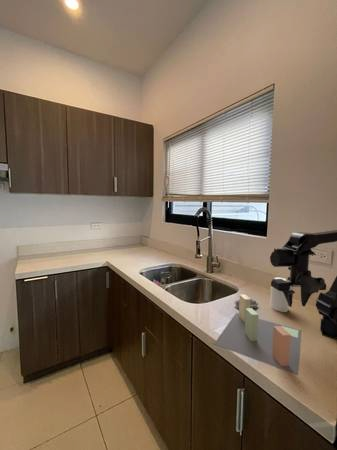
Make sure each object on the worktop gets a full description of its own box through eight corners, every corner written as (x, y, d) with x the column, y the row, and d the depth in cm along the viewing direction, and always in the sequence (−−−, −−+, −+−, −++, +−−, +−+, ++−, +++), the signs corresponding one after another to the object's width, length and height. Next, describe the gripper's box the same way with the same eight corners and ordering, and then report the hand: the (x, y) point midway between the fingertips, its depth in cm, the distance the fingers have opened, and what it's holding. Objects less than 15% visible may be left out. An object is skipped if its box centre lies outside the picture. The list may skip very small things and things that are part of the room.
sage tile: (250, 332, 86) (251, 308, 85) (257, 340, 81) (258, 314, 80) (244, 333, 86) (245, 308, 85) (250, 340, 81) (251, 314, 80)
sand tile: (244, 315, 99) (245, 294, 98) (249, 321, 94) (250, 299, 93) (238, 316, 99) (239, 294, 98) (243, 322, 94) (244, 299, 93)
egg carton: (244, 314, 102) (244, 305, 102) (232, 307, 109) (232, 299, 109) (259, 309, 108) (260, 301, 107) (247, 303, 114) (247, 295, 114)
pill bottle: (271, 303, 113) (273, 275, 112) (289, 308, 109) (291, 278, 107) (268, 309, 107) (270, 279, 106) (287, 314, 102) (288, 283, 101)
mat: (301, 331, 88) (301, 330, 88) (297, 376, 65) (297, 374, 65) (236, 313, 102) (236, 312, 102) (213, 345, 79) (213, 343, 79)
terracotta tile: (279, 354, 73) (280, 326, 72) (288, 365, 68) (290, 334, 68) (272, 355, 73) (273, 326, 72) (281, 366, 68) (283, 335, 67)
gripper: (290, 273, 74) (287, 317, 75) (340, 272, 76) (337, 315, 77) (271, 264, 85) (269, 303, 86) (316, 263, 87) (313, 301, 88)
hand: (296, 306), depth 84 cm, fingers open, 5 cm apart
